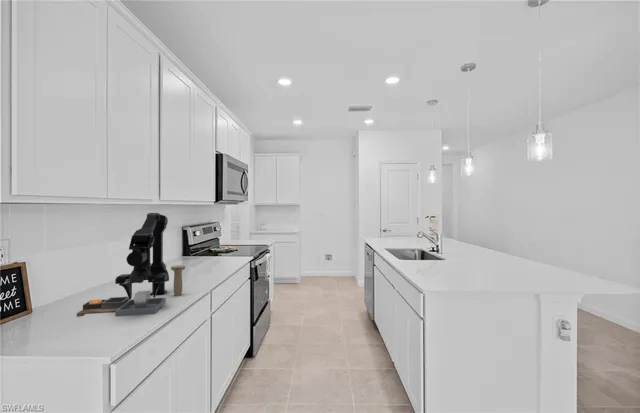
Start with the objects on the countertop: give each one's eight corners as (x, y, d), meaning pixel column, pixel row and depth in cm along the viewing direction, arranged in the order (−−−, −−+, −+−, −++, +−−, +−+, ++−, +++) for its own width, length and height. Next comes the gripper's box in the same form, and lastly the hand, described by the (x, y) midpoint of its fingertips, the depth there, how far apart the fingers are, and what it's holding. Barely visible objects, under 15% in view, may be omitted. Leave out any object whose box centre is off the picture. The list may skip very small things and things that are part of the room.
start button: (92, 305, 132) (92, 299, 132) (103, 304, 133) (103, 299, 133) (86, 308, 127) (86, 303, 127) (98, 308, 128) (98, 302, 128)
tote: (129, 306, 134) (129, 299, 134) (165, 304, 138) (165, 297, 138) (115, 318, 120) (115, 310, 120) (155, 315, 123) (155, 308, 123)
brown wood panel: (95, 304, 137) (95, 296, 137) (133, 302, 140) (133, 294, 140) (76, 316, 122) (76, 307, 122) (120, 313, 125) (120, 304, 125)
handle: (171, 295, 150) (171, 265, 150) (185, 294, 153) (185, 264, 153) (170, 298, 146) (170, 267, 146) (184, 297, 148) (184, 266, 148)
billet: (138, 307, 131) (138, 291, 131) (149, 306, 132) (149, 290, 132) (134, 311, 126) (134, 294, 126) (146, 310, 127) (146, 293, 127)
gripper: (109, 266, 119) (108, 305, 119) (160, 264, 123) (160, 302, 123) (121, 261, 130) (121, 297, 130) (168, 259, 134) (168, 295, 134)
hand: (142, 298), depth 129 cm, fingers open, 9 cm apart
